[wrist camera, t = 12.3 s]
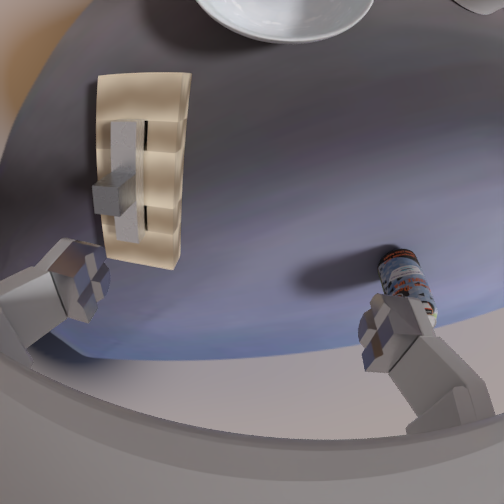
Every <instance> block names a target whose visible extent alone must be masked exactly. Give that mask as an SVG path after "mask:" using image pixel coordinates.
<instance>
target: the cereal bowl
mask: <svg viewBox="0 0 504 504" xmlns="http://www.w3.org/2000/svg"><path fill="white" fill-rule="evenodd" d="M196 2H197V3H198V4H199V5H200V7H201V8H202V9H203V10H204V11H205V12H206V13H207V14H208V15H209V16H210V17H211V18H213V19H214V20H215V21H217V22H218V23H219V24H221V25H223V26H224V27H226V28H228V29H230V30H231V31H233V32H235V33H238V34H240V35H243V36H245V37H248V38H251V39H255V40H259V41H264V42H269V43H276V44H304V43H310V42H316V41H321V40H324V39H327V38H330V37H333V36H336V35H338V34H340V33H342V32H344V31H346V30H348V29H349V28H351V27H352V26H354V25H355V24H356V23H357V22H359V21H360V20H361V19H362V18H363V17H364V15H365V14H366V13H367V12H368V10H369V9H370V7H371V5H372V4H373V2H374V0H196Z"/></svg>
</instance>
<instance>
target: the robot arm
mask: <svg viewBox="0 0 504 504" xmlns="http://www.w3.org/2000/svg"><path fill="white" fill-rule="evenodd" d="M454 1H456V2H457V3H458V4H460V5H461V6H463V7H465V8H466V9H468V10H470V11H472V12H475V13H478V14H484V15H487V14H492V13H494V12H495V11H497V10H499V9H501V8H504V0H454ZM106 258H107V255H106V251H105V248H104V247H102V246H100V245H96V244H91V243H87V242H83V241H78V240H73V239H69V238H62V239H60V240H59V241H58V243H57V244H56V245H55V246H54V247H53V248H52V249H51V250H50V251H49V252H48V253H47V254H46V255H45V256H44V257H43V258H42V260H41V261H40V262H39V263H38V264H37V265H36V266H35V267H32V266H31V267H29V268H27V269H25V270H22V271H20V272H18V273H16V274H14V275H12V276H10V277H8V278H6V279H4V280H2V281H0V504H504V413H502V414H499V415H495V412H494V409H493V406H492V402H491V399H490V396H489V393H488V390H487V387H486V384H485V382H484V381H483V380H482V379H481V378H480V377H479V376H478V375H477V374H476V372H475V371H474V370H473V369H472V368H471V367H470V366H469V365H468V364H467V363H466V362H465V361H464V360H462V358H461V357H460V356H459V355H458V354H456V352H455V351H454V350H453V349H452V348H451V347H450V346H448V345H447V344H446V342H445V341H444V340H442V339H441V338H440V337H436V335H435V332H434V330H433V327H432V325H431V323H430V320H429V318H428V315H427V313H426V311H425V309H424V306H423V304H422V302H421V300H419V299H418V298H413V297H401V296H393V295H386V294H379V293H377V294H376V295H375V296H373V298H372V300H371V302H370V305H371V309H370V310H368V311H367V312H365V313H364V314H363V316H362V318H361V320H360V324H359V328H358V337H359V342H360V343H361V344H362V346H363V347H364V348H365V349H364V351H363V353H362V358H363V363H364V369H365V372H380V373H381V372H382V373H389V376H390V377H391V379H392V380H393V382H394V383H395V385H396V386H397V387H398V389H399V390H400V391H401V393H402V395H403V396H404V397H405V399H406V400H407V402H408V403H409V405H410V406H411V408H412V409H413V411H414V412H415V413H416V415H417V416H418V418H417V419H415V420H414V421H413V422H411V423H410V424H409V425H408V426H407V427H406V432H407V435H400V436H391V437H381V438H367V439H350V440H349V439H348V440H309V439H307V440H306V439H288V438H274V437H263V436H254V435H245V434H238V433H231V432H224V431H218V430H212V429H206V428H202V427H196V426H191V425H187V424H182V423H178V422H174V421H170V420H166V419H162V418H158V417H154V416H151V415H147V414H143V413H140V412H136V411H133V410H130V409H127V408H124V407H121V406H118V405H115V404H112V403H109V402H106V401H103V400H101V399H98V398H95V397H93V396H90V395H88V394H85V393H83V392H80V391H78V390H75V389H73V388H71V387H68V386H66V385H64V384H62V383H59V382H57V381H55V380H53V379H51V378H49V377H46V376H44V375H42V374H40V373H38V372H36V371H34V370H32V369H31V366H32V364H33V359H32V358H31V356H30V354H29V353H28V352H27V350H26V348H27V347H29V346H30V345H31V344H33V343H34V342H35V341H37V340H38V339H39V338H41V337H42V336H44V335H45V334H46V333H48V332H49V331H50V330H52V329H53V328H55V327H56V326H57V325H59V324H60V323H61V322H63V321H64V320H66V319H67V317H69V318H72V319H75V320H79V321H82V322H86V323H89V322H90V321H91V319H92V317H93V316H94V314H95V312H96V311H97V309H98V305H97V302H98V301H99V300H101V299H103V298H104V297H105V296H106V294H107V292H108V289H109V286H110V271H109V268H108V267H107V266H106V264H105V263H104V262H105V260H106Z"/></svg>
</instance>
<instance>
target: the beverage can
mask: <svg viewBox="0 0 504 504" xmlns="http://www.w3.org/2000/svg"><path fill="white" fill-rule="evenodd" d="M378 274H379V277H380V281H381V284H382V288H383V291H384V294H386V295H393V296H401V297H413V298H418V299H419V300H421V302H422V304H423V306H424V309H425V311H426V313H427V315H428V318H429V320H430V323H431V325H432V327H433V328H434V327H435V325H436V317H437V307H436V304H435V302H434V299H433V296H432V294H431V291H430V289H429V286H428V284H427V281H426V279H425V276H424V274H423V272H422V269H421V267H420V265H419V262H418V260H417V258H416V256H415V254H414V253H413V252H412V251H410V250H407V249H397V250H394V251H391V252H390V253H388V254H386V255H385V256H384V257H383V258H382V259H381V260H380V262H379V264H378Z"/></svg>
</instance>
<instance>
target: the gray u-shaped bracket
mask: <svg viewBox="0 0 504 504" xmlns="http://www.w3.org/2000/svg"><path fill="white" fill-rule="evenodd" d="M147 134H148V122H145V119H117V120H114V121H111V172H110V173H109V174H108V175H106V176H105V177H103V178H102V179H100V180H99V181H97V182H96V183H95V184H93V185H92V192H93V202H94V211H95V214H102V215H110V216H114V219H115V229H116V238H117V240H120V241H126V242H132V243H138V244H139V243H140V241H141V240H142V239H143V237H144V236H145V224H144V223H145V222H146V221H147V206H145V205H144V193H143V155H144V143H146V142H147Z"/></svg>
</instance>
